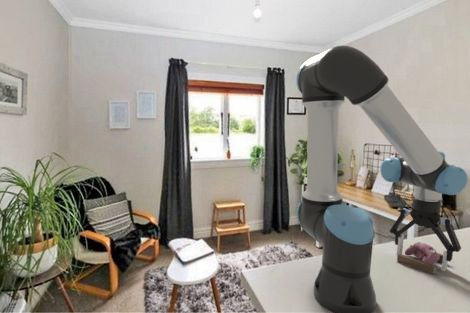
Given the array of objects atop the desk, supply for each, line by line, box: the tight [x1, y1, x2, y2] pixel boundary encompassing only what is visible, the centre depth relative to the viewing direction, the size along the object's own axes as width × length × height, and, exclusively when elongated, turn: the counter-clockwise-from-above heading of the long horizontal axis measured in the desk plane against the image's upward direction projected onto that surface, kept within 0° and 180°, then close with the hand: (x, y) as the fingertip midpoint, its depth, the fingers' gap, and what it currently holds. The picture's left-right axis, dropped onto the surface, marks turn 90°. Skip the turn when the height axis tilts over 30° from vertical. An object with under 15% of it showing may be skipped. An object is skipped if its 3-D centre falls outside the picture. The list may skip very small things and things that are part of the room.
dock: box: [396, 244, 443, 275], centre depth 93 cm, size 12×10×2 cm
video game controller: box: [404, 241, 440, 265], centre depth 94 cm, size 10×5×7 cm, turn 2°
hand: (420, 261), depth 94 cm, fingers open, 12 cm apart
